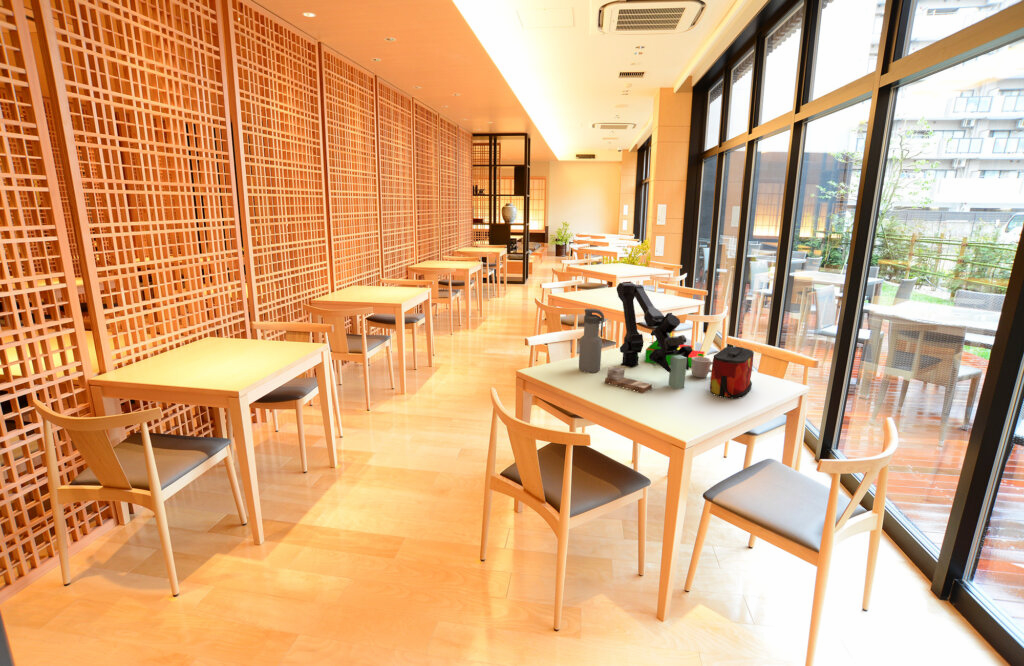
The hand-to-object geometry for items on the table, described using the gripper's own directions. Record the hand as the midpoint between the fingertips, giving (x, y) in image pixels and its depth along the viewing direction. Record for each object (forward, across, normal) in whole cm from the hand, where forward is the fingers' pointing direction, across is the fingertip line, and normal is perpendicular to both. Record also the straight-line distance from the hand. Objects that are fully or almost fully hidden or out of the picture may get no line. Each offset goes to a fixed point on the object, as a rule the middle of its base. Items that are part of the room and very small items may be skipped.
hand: (679, 371), depth 217 cm
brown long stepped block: (-1, -19, +11) cm, 22 cm away
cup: (-1, +21, +11) cm, 24 cm away
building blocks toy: (-18, +26, +28) cm, 42 cm away
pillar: (+4, 0, +6) cm, 7 cm away
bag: (+12, +20, -1) cm, 24 cm away
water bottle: (-19, -22, +29) cm, 41 cm away
